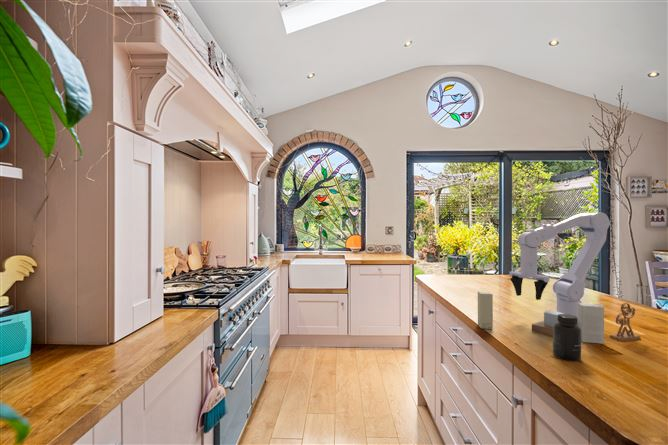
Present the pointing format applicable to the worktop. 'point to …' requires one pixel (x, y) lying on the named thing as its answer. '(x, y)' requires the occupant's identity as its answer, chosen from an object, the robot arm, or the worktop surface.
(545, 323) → the slate cube
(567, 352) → the supplement bottle
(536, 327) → the walnut block
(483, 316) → the box
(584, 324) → the skincare box
